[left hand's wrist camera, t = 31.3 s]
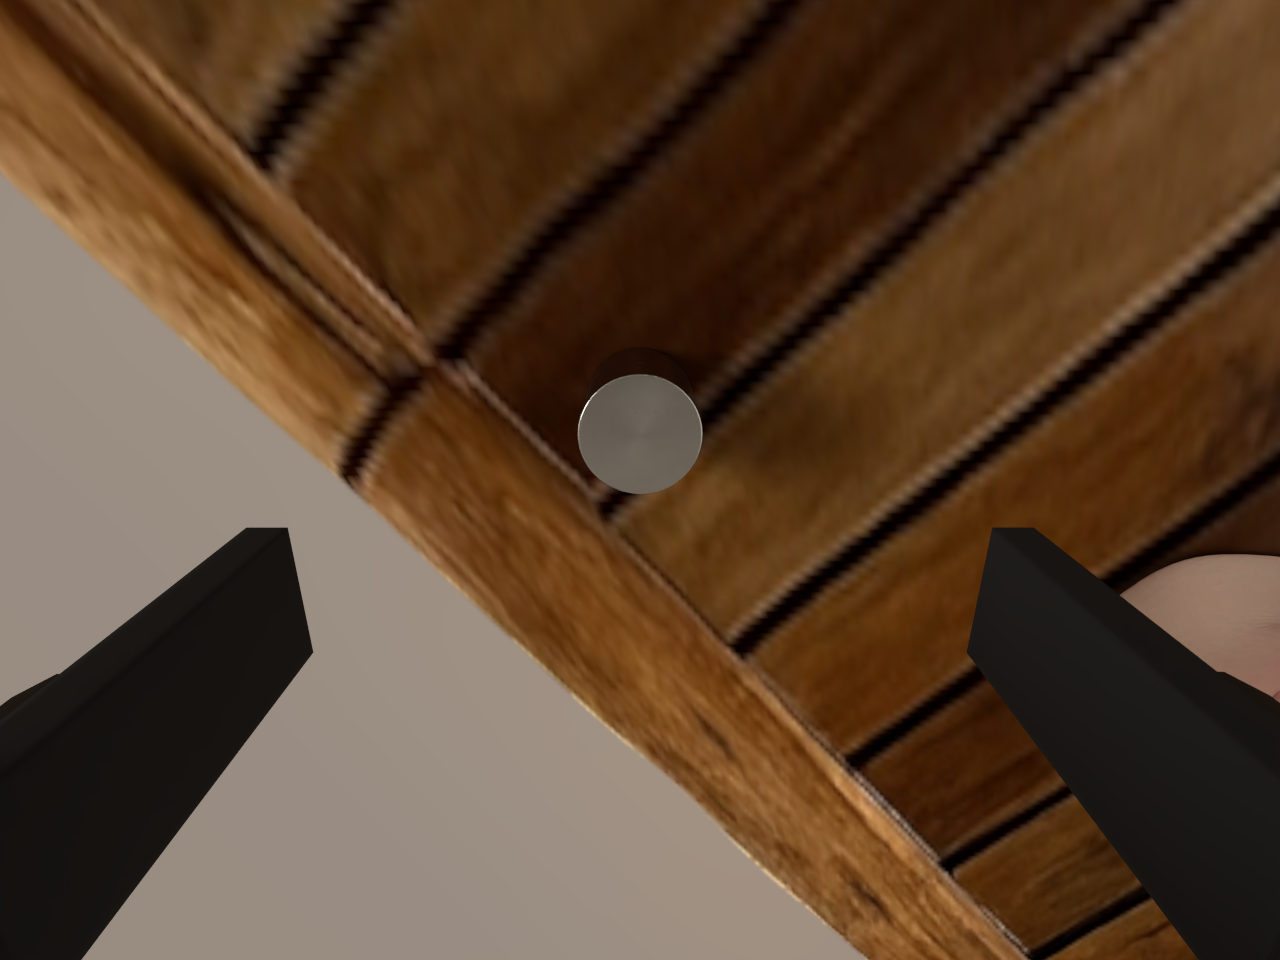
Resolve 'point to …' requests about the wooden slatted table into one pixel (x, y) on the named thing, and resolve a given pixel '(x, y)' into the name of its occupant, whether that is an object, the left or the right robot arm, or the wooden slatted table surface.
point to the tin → (640, 422)
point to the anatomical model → (1220, 613)
